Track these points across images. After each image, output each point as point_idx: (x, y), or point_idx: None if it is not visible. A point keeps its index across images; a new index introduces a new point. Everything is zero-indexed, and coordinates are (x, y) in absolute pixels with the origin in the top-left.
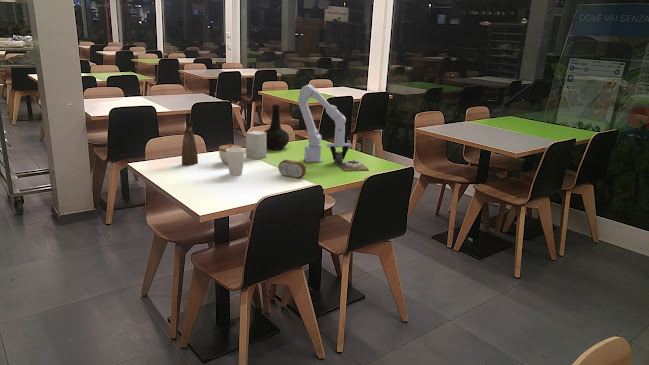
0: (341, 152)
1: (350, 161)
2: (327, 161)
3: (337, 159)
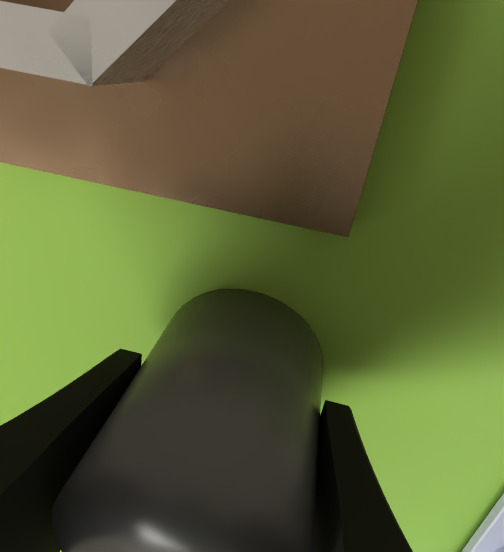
0: (100, 530)
1: (20, 5)
2: (401, 465)
3: (288, 363)
